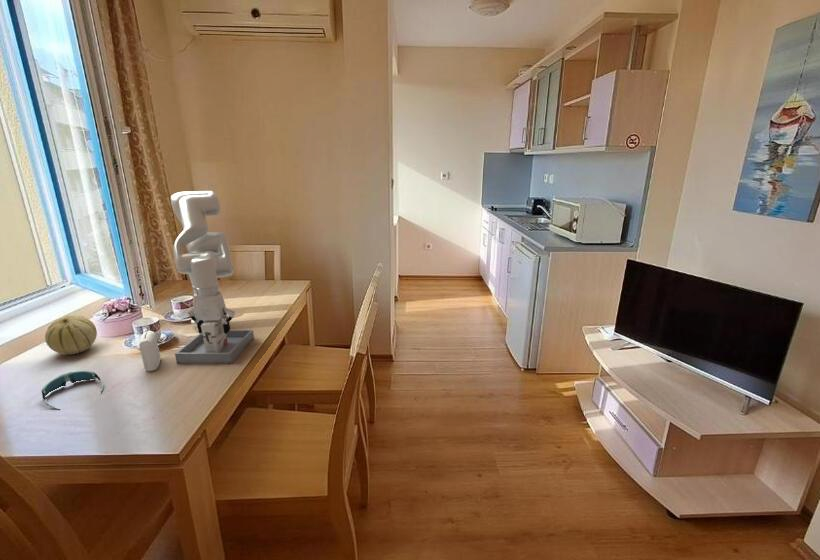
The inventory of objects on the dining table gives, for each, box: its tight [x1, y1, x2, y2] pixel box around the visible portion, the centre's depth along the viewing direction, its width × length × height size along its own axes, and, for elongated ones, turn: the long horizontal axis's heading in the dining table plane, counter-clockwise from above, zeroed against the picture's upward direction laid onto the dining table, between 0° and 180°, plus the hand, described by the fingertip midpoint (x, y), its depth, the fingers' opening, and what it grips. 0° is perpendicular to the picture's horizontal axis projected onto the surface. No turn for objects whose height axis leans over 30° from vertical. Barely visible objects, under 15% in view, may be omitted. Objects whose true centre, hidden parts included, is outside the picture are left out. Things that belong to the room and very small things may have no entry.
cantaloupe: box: [44, 314, 98, 355], centre depth 145 cm, size 15×15×15 cm
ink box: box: [201, 320, 228, 353], centre depth 146 cm, size 9×5×12 cm, turn 1°
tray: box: [174, 329, 255, 365], centre depth 147 cm, size 20×20×4 cm
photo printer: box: [138, 330, 162, 372], centre depth 136 cm, size 10×4×12 cm, turn 26°
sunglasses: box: [40, 370, 105, 409], centre depth 121 cm, size 14×15×5 cm
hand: (214, 331), depth 146 cm, fingers open, 9 cm apart
